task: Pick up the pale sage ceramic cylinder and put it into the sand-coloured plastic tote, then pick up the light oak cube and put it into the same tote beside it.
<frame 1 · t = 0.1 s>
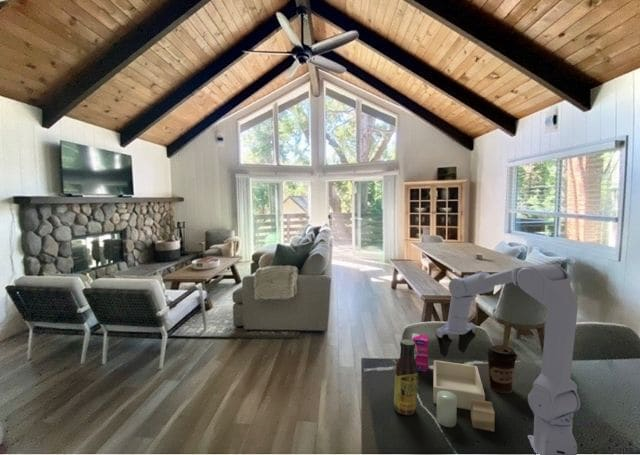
hand: (452, 353, 105), 10 cm above the kitchen island, tool pointing down, fingers open, 7 cm apart
coffee cup: (500, 389, 103), on the kitchen island
sauce bottle: (405, 410, 93), on the kitchen island
tote: (456, 391, 102), on the kitchen island
oak cube: (482, 423, 87), on the kitchen island
sage cylinder: (446, 420, 88), on the kitchen island
supplement box: (419, 368, 117), on the kitchen island
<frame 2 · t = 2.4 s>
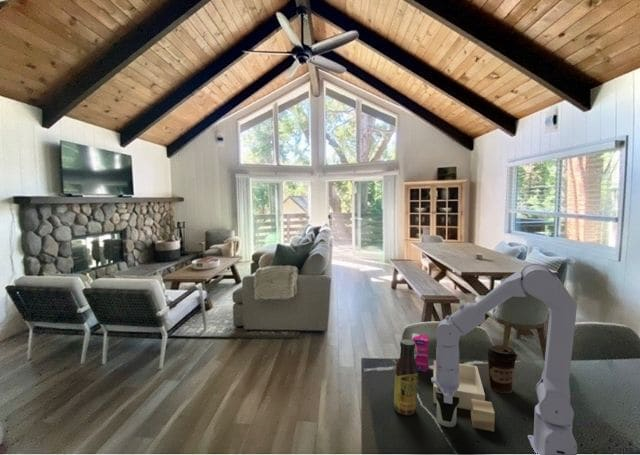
hand: (446, 413, 88), 2 cm above the kitchen island, tool pointing down, fingers closed on sage cylinder, 5 cm apart
sage cylinder: (446, 420, 88), on the kitchen island, touching gripper
everything else where it was.
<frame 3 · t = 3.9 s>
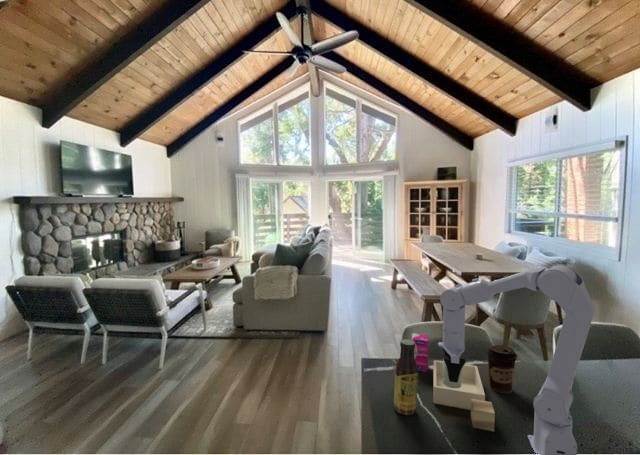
hand: (452, 376, 93), 9 cm above the kitchen island, tool pointing down, fingers closed on sage cylinder, 5 cm apart
sage cylinder: (452, 383, 93), point 7 cm above the kitchen island, touching gripper
everything else where it was.
when the fingers open (5 cm above the kitchen island, at t = 5.9 s): sage cylinder drops 3 cm, resting on tote.
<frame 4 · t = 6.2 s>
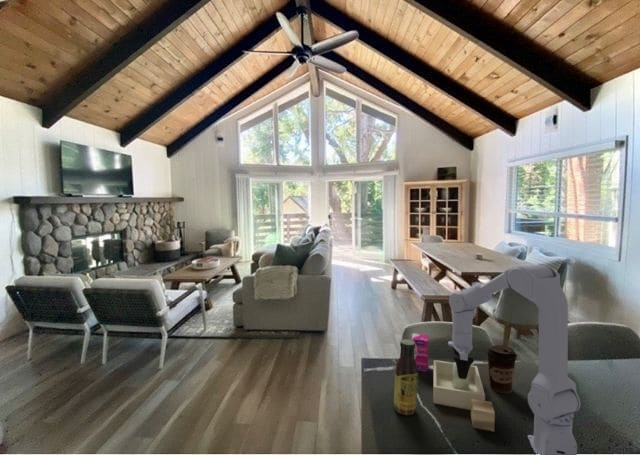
hand: (461, 372, 103), 5 cm above the kitchen island, tool pointing down, fingers open, 7 cm apart
sage cylinder: (460, 386, 103), point 1 cm above the kitchen island, touching tote
everything else where it was.
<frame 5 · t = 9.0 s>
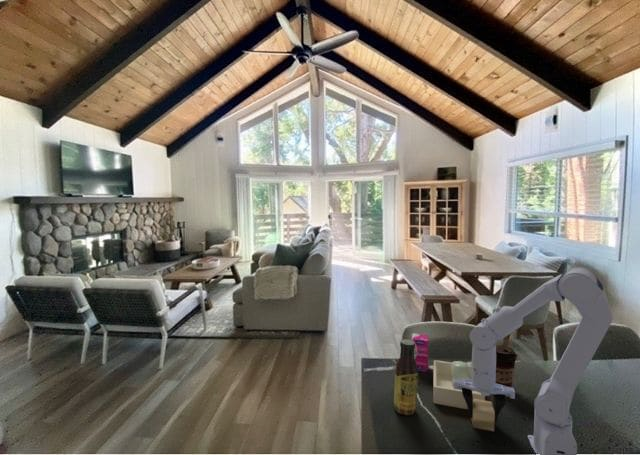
hand: (482, 418, 87), 1 cm above the kitchen island, tool pointing down, fingers closed on oak cube, 5 cm apart
oak cube: (482, 423, 87), on the kitchen island, touching gripper
everything else where it was.
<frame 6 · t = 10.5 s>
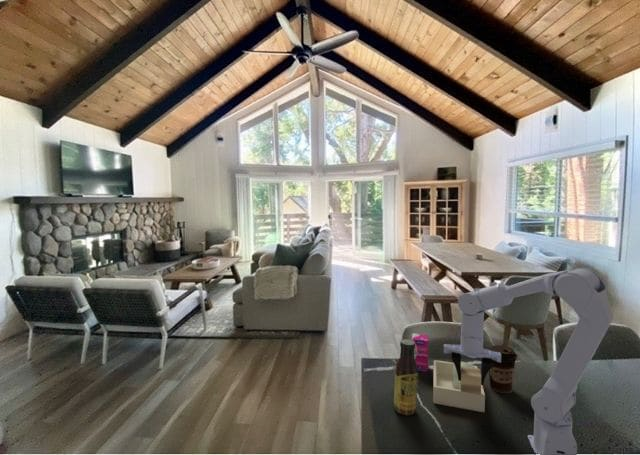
hand: (470, 381, 92), 9 cm above the kitchen island, tool pointing down, fingers closed on oak cube, 5 cm apart
oak cube: (470, 388, 92), point 6 cm above the kitchen island, touching gripper
everything else where it was.
when the fingers open (5 cm above the kitchen island, at t = 11.9 s): oak cube drops 3 cm, resting on tote.
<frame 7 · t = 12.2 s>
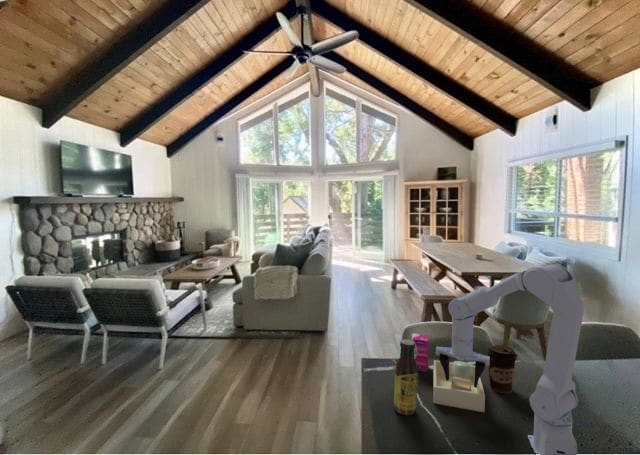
hand: (461, 382, 97), 5 cm above the kitchen island, tool pointing down, fingers open, 7 cm apart
oak cube: (460, 398, 97), point 1 cm above the kitchen island, touching tote
everything else where it was.
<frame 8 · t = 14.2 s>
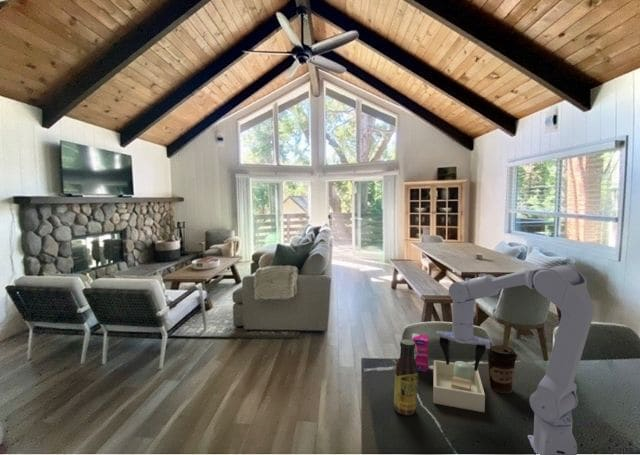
hand: (461, 366, 97), 10 cm above the kitchen island, tool pointing down, fingers open, 7 cm apart
nothing on the kitchen island moved.
at the end: sage cylinder inside the target area on the tote (2.5 cm from its centre), point 0.8 cm above the tote's base; oak cube inside the target area on the tote (4.8 cm from its centre), point 0.6 cm above the tote's base; the gripper is holding nothing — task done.
